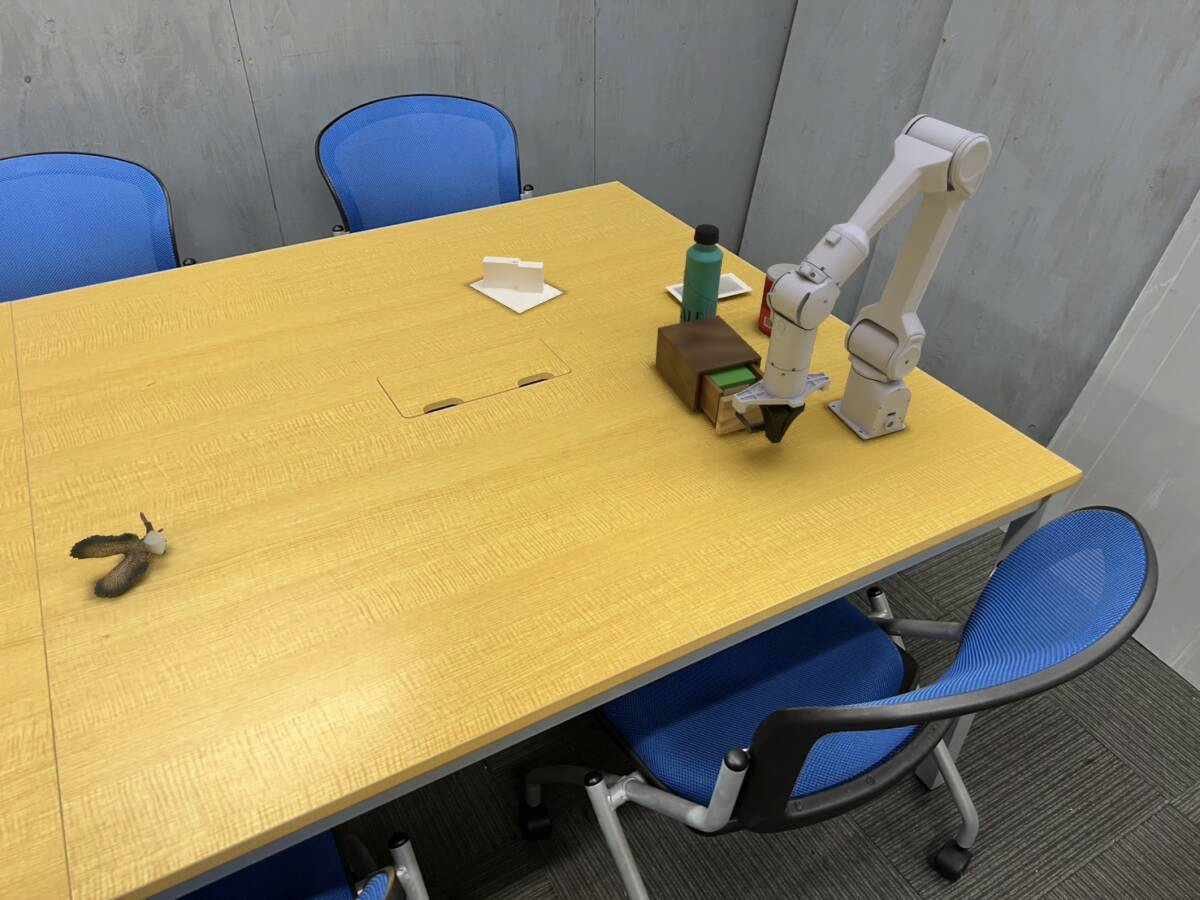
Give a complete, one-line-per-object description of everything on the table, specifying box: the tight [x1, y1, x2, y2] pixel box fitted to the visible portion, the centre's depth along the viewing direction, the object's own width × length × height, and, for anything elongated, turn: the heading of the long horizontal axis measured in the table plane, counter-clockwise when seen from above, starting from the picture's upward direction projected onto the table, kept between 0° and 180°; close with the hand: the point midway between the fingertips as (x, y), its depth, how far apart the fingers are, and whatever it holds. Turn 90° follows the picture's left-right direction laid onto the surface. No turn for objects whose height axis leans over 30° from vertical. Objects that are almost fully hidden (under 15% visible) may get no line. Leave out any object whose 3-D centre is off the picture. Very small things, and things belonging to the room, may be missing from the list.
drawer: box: [697, 362, 765, 435], centre depth 122 cm, size 18×10×6 cm, turn 22°
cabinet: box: [654, 314, 763, 413], centre depth 130 cm, size 14×11×8 cm
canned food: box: [758, 263, 800, 337], centre depth 142 cm, size 8×8×11 cm
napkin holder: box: [468, 255, 564, 314], centre depth 153 cm, size 15×11×6 cm
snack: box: [707, 364, 756, 397], centre depth 124 cm, size 4×6×4 cm, turn 112°
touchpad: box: [664, 272, 754, 303], centre depth 154 cm, size 8×15×2 cm, turn 115°
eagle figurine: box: [68, 511, 168, 598], centre depth 97 cm, size 8×7×9 cm
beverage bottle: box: [678, 223, 724, 323], centre depth 137 cm, size 6×7×20 cm
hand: (772, 438), depth 116 cm, fingers closed, pressing on drawer
